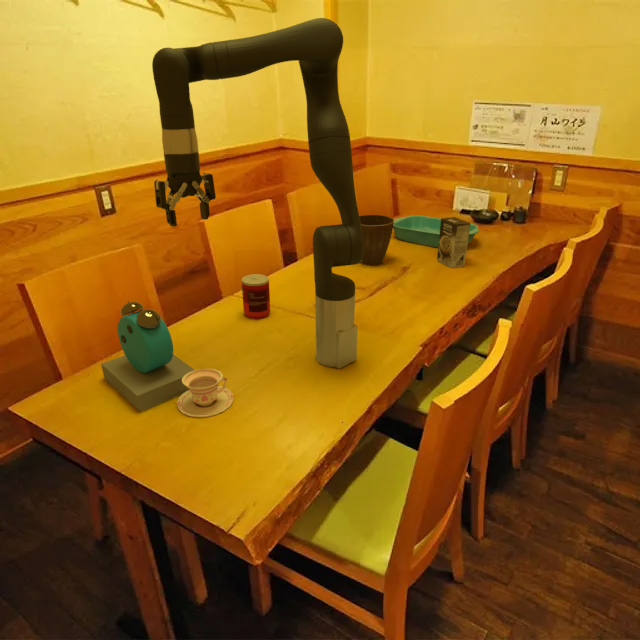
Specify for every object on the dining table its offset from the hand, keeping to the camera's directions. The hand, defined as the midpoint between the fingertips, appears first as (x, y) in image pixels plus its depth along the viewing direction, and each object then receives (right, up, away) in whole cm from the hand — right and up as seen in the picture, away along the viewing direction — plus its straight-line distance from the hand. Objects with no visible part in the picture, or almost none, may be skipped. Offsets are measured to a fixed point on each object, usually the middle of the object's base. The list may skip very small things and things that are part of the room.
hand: (189, 222), depth 121 cm
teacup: (+6, -41, -10) cm, 42 cm away
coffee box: (+79, -2, +69) cm, 105 cm away
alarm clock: (-8, -34, -5) cm, 35 cm away
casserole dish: (+78, +10, +96) cm, 124 cm away
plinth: (-8, -37, -3) cm, 38 cm away
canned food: (+12, -21, +30) cm, 39 cm away
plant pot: (+50, -2, +70) cm, 86 cm away
